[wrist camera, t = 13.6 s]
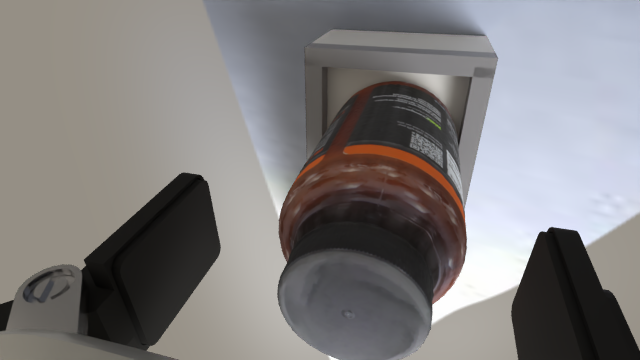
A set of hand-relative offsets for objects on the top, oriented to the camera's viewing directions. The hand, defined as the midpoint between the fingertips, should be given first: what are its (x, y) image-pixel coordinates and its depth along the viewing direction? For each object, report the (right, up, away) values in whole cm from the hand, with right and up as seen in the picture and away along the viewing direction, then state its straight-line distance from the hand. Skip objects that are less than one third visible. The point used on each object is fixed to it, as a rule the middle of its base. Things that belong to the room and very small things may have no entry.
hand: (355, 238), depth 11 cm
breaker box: (+4, +4, +13) cm, 14 cm away
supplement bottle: (+3, +4, +8) cm, 9 cm away
